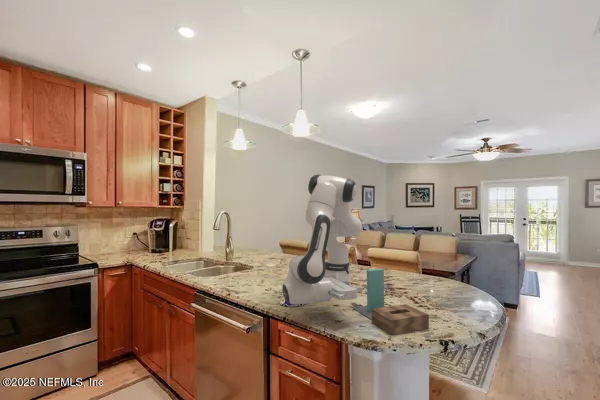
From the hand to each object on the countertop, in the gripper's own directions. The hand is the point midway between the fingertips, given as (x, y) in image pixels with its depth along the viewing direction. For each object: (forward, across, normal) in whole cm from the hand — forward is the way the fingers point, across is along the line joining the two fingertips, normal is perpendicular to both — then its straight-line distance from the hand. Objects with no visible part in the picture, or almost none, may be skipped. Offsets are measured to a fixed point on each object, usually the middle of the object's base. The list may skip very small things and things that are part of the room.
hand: (354, 286), depth 118 cm
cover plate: (+10, 0, +11) cm, 15 cm away
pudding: (-19, +24, +12) cm, 32 cm away
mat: (+10, 0, +12) cm, 15 cm away
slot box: (+10, -15, +12) cm, 21 cm away
